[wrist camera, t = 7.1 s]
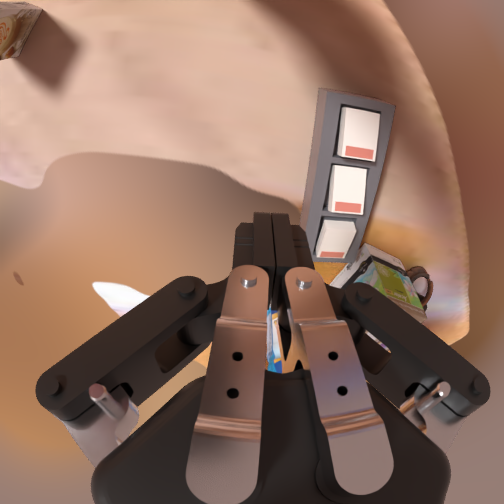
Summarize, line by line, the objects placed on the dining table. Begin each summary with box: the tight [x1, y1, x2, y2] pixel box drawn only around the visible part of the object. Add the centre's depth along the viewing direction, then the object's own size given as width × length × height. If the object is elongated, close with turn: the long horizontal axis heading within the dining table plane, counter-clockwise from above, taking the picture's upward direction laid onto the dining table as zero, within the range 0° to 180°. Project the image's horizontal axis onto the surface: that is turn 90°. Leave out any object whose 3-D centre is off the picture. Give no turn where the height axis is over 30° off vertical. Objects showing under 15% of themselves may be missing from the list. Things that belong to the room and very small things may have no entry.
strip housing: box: [299, 88, 396, 263], centre depth 37 cm, size 25×9×4 cm, turn 177°
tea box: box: [330, 243, 427, 351], centre depth 46 cm, size 15×10×15 cm, turn 156°
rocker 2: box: [328, 165, 367, 215], centre depth 35 cm, size 6×4×2 cm
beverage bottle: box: [266, 306, 282, 373], centre depth 50 cm, size 8×8×20 cm
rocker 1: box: [337, 107, 380, 161], centre depth 30 cm, size 6×4×2 cm
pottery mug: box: [407, 267, 433, 312], centre depth 51 cm, size 12×10×8 cm
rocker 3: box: [315, 220, 356, 258], centre depth 40 cm, size 6×4×2 cm
